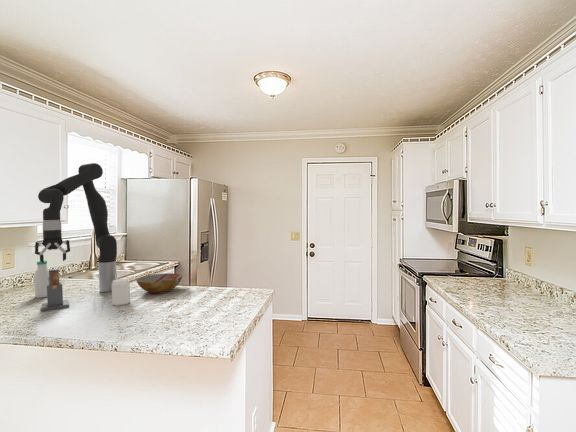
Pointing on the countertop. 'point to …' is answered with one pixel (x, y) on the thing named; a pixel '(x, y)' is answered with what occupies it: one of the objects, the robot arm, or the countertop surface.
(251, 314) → the countertop surface
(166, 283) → the bowl
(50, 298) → the stand sleeve
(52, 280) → the walnut post
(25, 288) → the countertop surface
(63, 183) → the robot arm
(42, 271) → the milk bottle
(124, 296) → the white upright block
